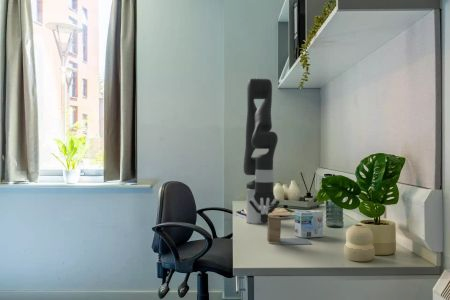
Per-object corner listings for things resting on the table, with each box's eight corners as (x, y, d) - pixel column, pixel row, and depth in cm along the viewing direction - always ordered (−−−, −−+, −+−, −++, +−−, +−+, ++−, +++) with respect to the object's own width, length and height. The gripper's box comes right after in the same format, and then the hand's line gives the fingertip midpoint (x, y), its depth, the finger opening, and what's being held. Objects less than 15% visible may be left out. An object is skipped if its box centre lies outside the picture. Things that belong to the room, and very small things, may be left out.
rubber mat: (277, 239, 169) (277, 238, 169) (305, 238, 169) (305, 237, 169) (282, 244, 159) (282, 244, 159) (312, 244, 159) (312, 243, 159)
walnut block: (267, 240, 166) (268, 216, 166) (277, 240, 166) (279, 216, 166) (268, 243, 161) (270, 218, 161) (279, 243, 161) (281, 218, 161)
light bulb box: (301, 238, 169) (300, 212, 169) (294, 235, 175) (293, 210, 176) (324, 236, 171) (323, 211, 172) (316, 234, 178) (316, 209, 178)
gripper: (278, 179, 167) (278, 221, 167) (247, 179, 166) (246, 221, 167) (282, 181, 160) (281, 225, 160) (248, 181, 159) (248, 225, 159)
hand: (264, 223), depth 163 cm, fingers closed
